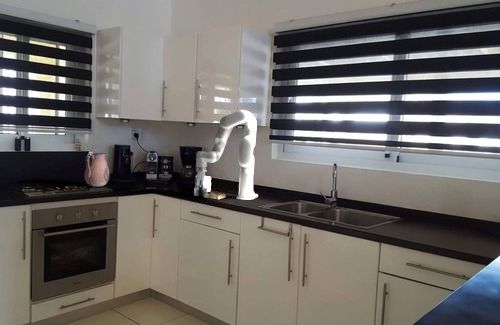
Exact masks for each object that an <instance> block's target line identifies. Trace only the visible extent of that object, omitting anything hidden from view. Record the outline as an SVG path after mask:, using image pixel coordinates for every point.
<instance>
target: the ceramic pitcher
mask: <svg viewBox="0 0 500 325" xmlns="http://www.w3.org/2000/svg"><path fill="white" fill-rule="evenodd" d="M85 165H86V167H85V169H84V170H85V171H84V180H85V182H86V184H87V185H89V186H90V187H94V188H95V187H104V186H105V185H107V183H108V182H109V179H110V170H109V166H108V164H107V160H106V152H101V151H99V152H95V151H90V152H88V154H86V156H85Z"/></svg>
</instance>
